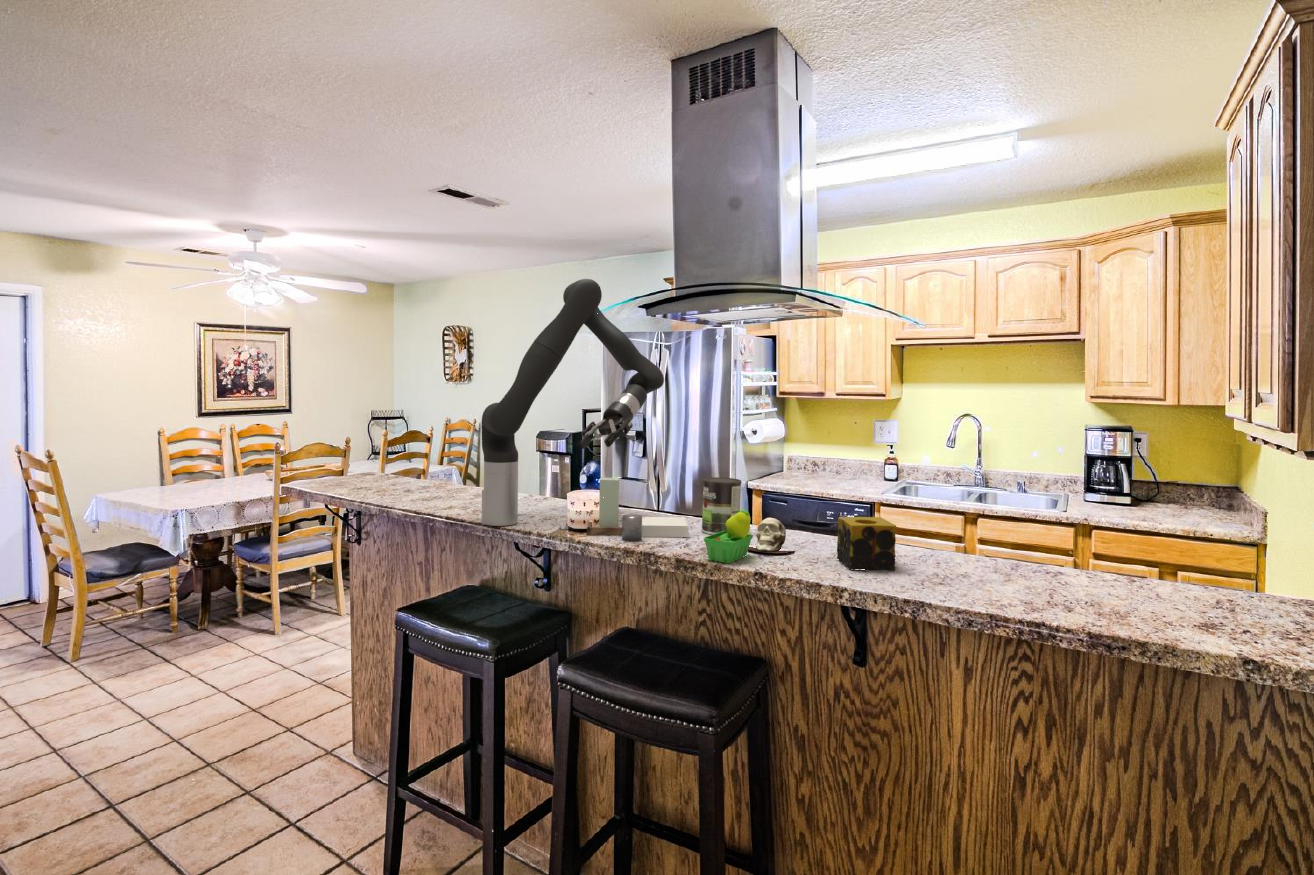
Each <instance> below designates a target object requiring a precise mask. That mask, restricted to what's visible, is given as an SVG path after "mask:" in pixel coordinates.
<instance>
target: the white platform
mask: <svg viewBox="0 0 1314 875" xmlns="http://www.w3.org/2000/svg"><path fill="white" fill-rule="evenodd" d="M689 528H690V526H689V524H688V522H687V519H686V518H685V517H676V516H675V517H671V516H670V517H669V516H667V517H666V516H665V517H664V516H642V538H683V537H688V538H689Z"/></svg>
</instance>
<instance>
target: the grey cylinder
mask: <svg viewBox="0 0 1314 875" xmlns="http://www.w3.org/2000/svg"><path fill="white" fill-rule="evenodd" d="M642 517H643V515H641V514H637V513H636V514H635V513H631V514H630V513H628V514H627V513H626V514H623V515H622V516H621V527H622V536H621V541H622V542H630V543H635V542H641V541H642V539H643V537H642Z"/></svg>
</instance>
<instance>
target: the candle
mask: <svg viewBox="0 0 1314 875" xmlns="http://www.w3.org/2000/svg"><path fill="white" fill-rule="evenodd" d="M837 529H838V531H837V542H836V543H837V544H836V553H837V554H836V555H837V557H836V560H837V559H839V560H840V561H841V562H842V563H843V564H844V565H845V566H847V567H848V568H849V569H865V570H893V571H895V570H896V565H895V564H896V556H897V555H896V542H897V541H896V540H897V539H896V532H897V531H896V529H897V525H896V524H895V523H892V522H891V521H889V520H887V519H885V518H883V517H880V516H840V517H837ZM841 562H840V563H841ZM843 564H842V565H843ZM844 565H843V566H844ZM845 566H844V567H845ZM847 567H846V568H847ZM848 568H847V569H848ZM849 569H848V570H849ZM865 570H864V571H865Z"/></svg>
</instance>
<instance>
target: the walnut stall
mask: <svg viewBox="0 0 1314 875" xmlns="http://www.w3.org/2000/svg"><path fill="white" fill-rule="evenodd" d="M586 536H621V537H622V526H618V527H599V526H593V527H592V522H589V521H588V523H587V526H586Z"/></svg>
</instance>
